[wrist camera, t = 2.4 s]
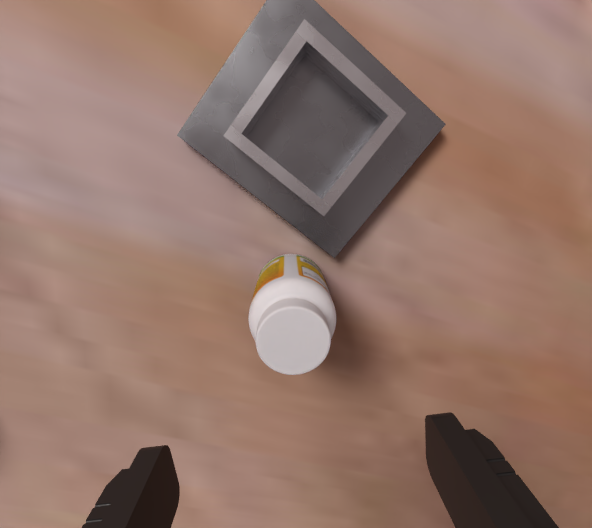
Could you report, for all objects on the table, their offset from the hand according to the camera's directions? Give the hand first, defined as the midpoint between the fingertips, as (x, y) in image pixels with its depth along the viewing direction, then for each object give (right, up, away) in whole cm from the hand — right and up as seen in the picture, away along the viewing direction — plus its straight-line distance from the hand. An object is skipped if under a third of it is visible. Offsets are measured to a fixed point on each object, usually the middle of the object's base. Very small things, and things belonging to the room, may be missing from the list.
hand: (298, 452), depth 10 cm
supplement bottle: (0, +4, +17) cm, 17 cm away
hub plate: (+1, +15, +14) cm, 20 cm away
